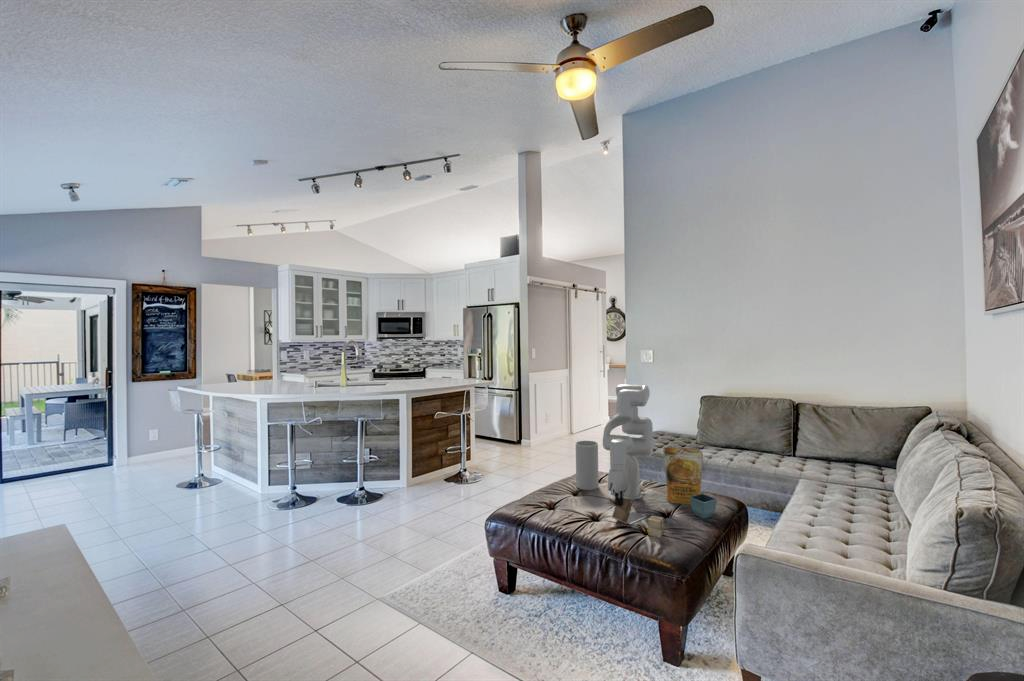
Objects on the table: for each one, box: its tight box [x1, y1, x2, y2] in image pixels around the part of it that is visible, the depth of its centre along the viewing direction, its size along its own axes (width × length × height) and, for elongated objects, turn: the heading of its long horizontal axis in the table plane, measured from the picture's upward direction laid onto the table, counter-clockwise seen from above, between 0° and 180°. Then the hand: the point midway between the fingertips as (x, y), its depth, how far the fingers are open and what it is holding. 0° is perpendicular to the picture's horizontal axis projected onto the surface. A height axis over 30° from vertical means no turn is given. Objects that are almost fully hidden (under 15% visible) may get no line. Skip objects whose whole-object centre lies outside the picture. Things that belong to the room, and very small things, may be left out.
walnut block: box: [611, 498, 634, 524], centre depth 226 cm, size 5×5×10 cm
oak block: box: [647, 515, 664, 538], centre depth 213 cm, size 5×5×7 cm
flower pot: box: [690, 493, 718, 519], centre depth 230 cm, size 9×9×9 cm
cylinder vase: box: [575, 440, 600, 491], centre depth 274 cm, size 12×12×25 cm
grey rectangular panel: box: [626, 510, 647, 525], centre depth 231 cm, size 12×9×1 cm
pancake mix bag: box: [662, 446, 704, 506], centre depth 248 cm, size 7×19×28 cm, turn 69°
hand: (619, 505), depth 225 cm, fingers closed
